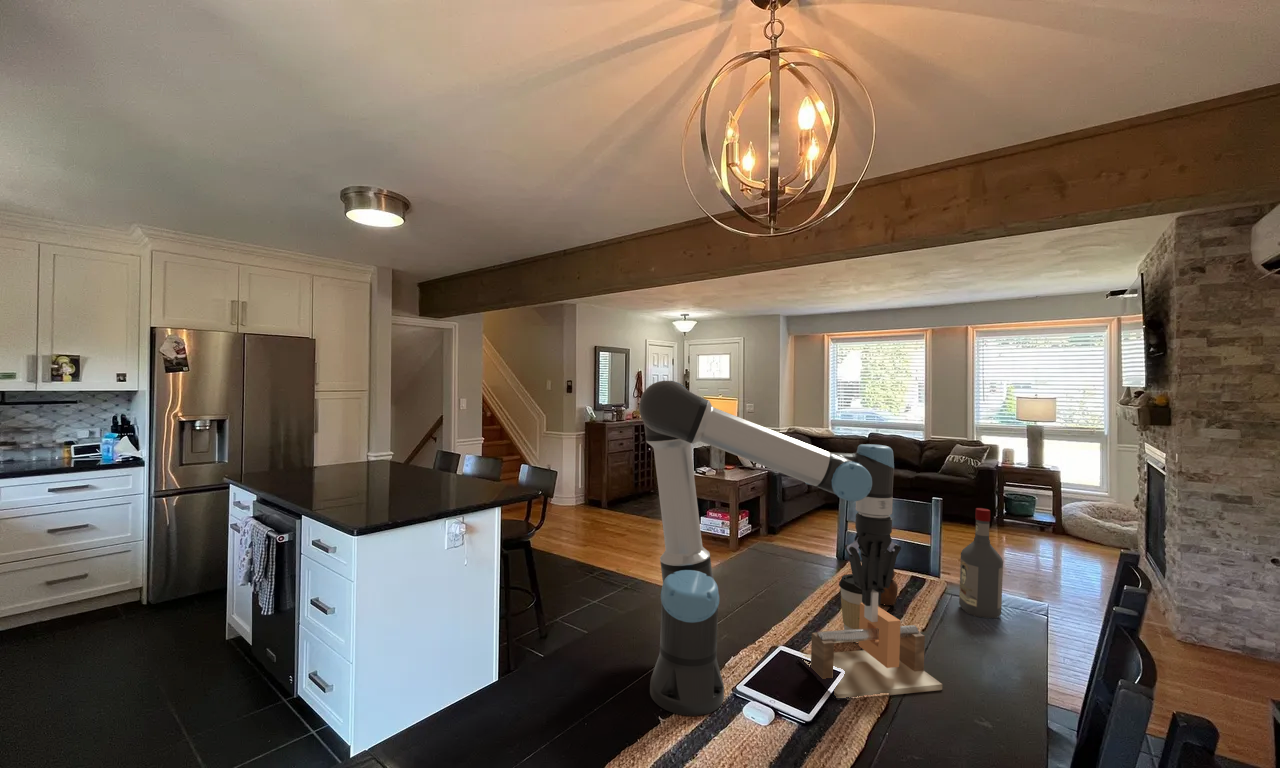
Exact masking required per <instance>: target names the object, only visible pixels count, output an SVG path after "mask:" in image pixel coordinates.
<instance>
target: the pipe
mask: <svg viewBox="0 0 1280 768" xmlns="http://www.w3.org/2000/svg"><path fill="white" fill-rule="evenodd" d="M919 632H920V631H919V629H918V627H917V626H916V625H913V624H912V625H911V624H910V625H900V638H907V637H911V634H917V633H919ZM816 633H817V632H816ZM817 636H818V637H819V638H821V639H822V640H831V641H833V642H834V644H837V643H840V644H841V643H853V642H854V641H867V640H879V629H878V628H867V629H853V630H844V629H841V630H828V631H825V630H824V631H818V633H817Z"/></svg>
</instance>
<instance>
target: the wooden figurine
mask: <svg viewBox="0 0 1280 768" xmlns="http://www.w3.org/2000/svg"><path fill="white" fill-rule="evenodd" d="M895 575H896V574H895V570H893V575H892V579H891V583H890V587H889V588H884V590H885V592H884V593H881V604H885V605H891V606H894V604H895V603H896V601H897V598H898V589H899V587H898V584H897V581H895V580H894V578H895ZM881 604H880V605H881Z"/></svg>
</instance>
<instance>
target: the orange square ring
mask: <svg viewBox="0 0 1280 768" xmlns="http://www.w3.org/2000/svg"><path fill="white" fill-rule="evenodd" d="M864 608H865V605H864V604H863V603H860V619H859V629H867V628H878V629H879V640H867V641H859V644H858V646H859V647H860V648H861V650H865V651H866V652H867V653H869V654H870V655H871V656H872V657H874V658H875V659H876V660H877V661H879V662H880V663H881V664H883V665H884V666H885V667H886V668H893V667H899V655H900V626H902V625H901V624H902V623H901V620H900V619H899V618H897V617H896V616H894V615H892V614H890V613H889V612H887V611H886V610H885V609H883V608H881V607H880V606H878V622H871V621H869V620H868V619H866V618H865V617H864Z"/></svg>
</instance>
